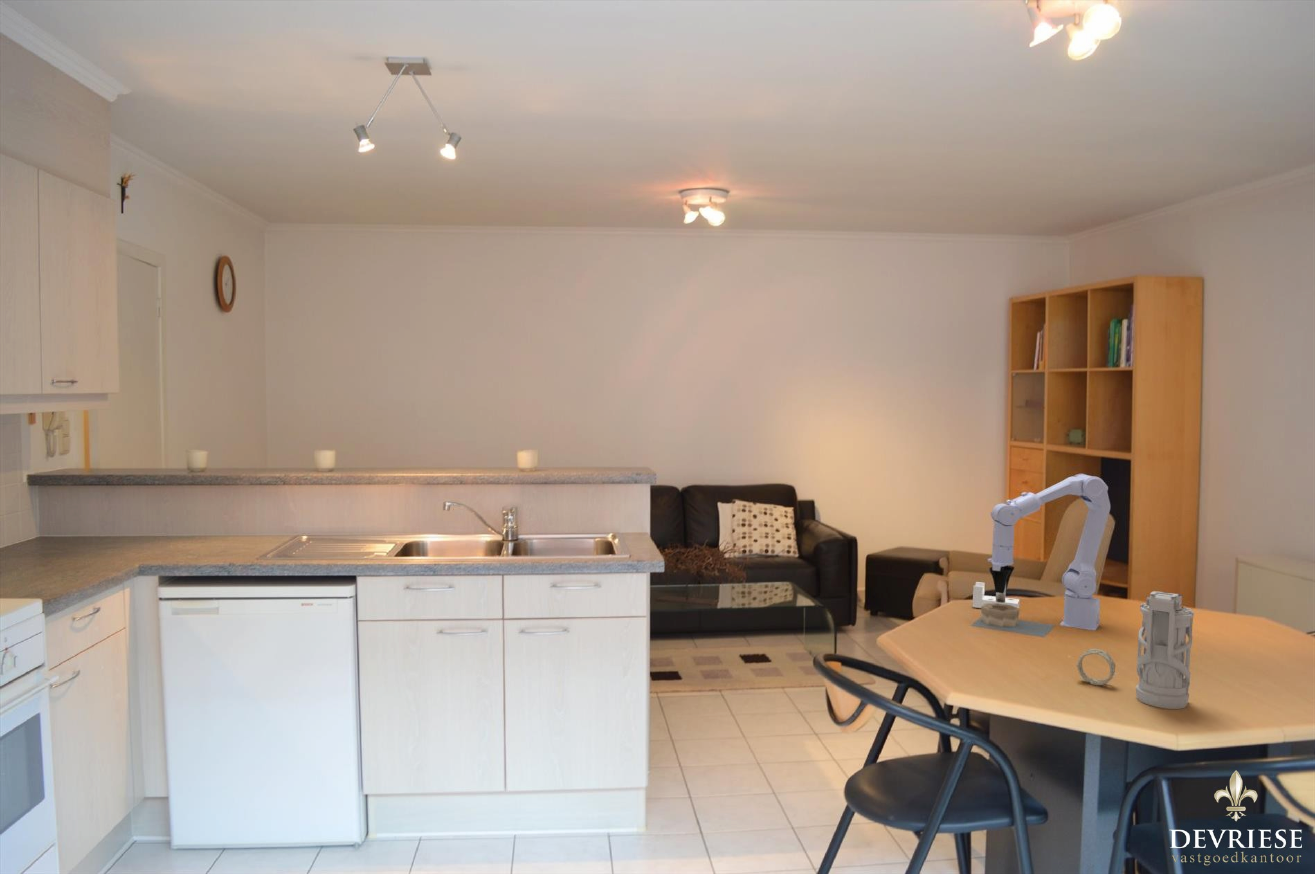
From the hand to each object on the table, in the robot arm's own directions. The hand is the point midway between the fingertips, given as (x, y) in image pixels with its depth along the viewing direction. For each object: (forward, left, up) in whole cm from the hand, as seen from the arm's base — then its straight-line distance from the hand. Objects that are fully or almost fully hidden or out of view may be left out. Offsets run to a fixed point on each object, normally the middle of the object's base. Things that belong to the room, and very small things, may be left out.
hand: (1000, 591), depth 275 cm
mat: (-4, +1, -9) cm, 10 cm away
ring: (0, 0, -9) cm, 9 cm away
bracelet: (-32, +45, -10) cm, 56 cm away
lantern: (-46, +51, -10) cm, 69 cm away
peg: (0, 0, -3) cm, 3 cm away
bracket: (+5, -18, -10) cm, 21 cm away
